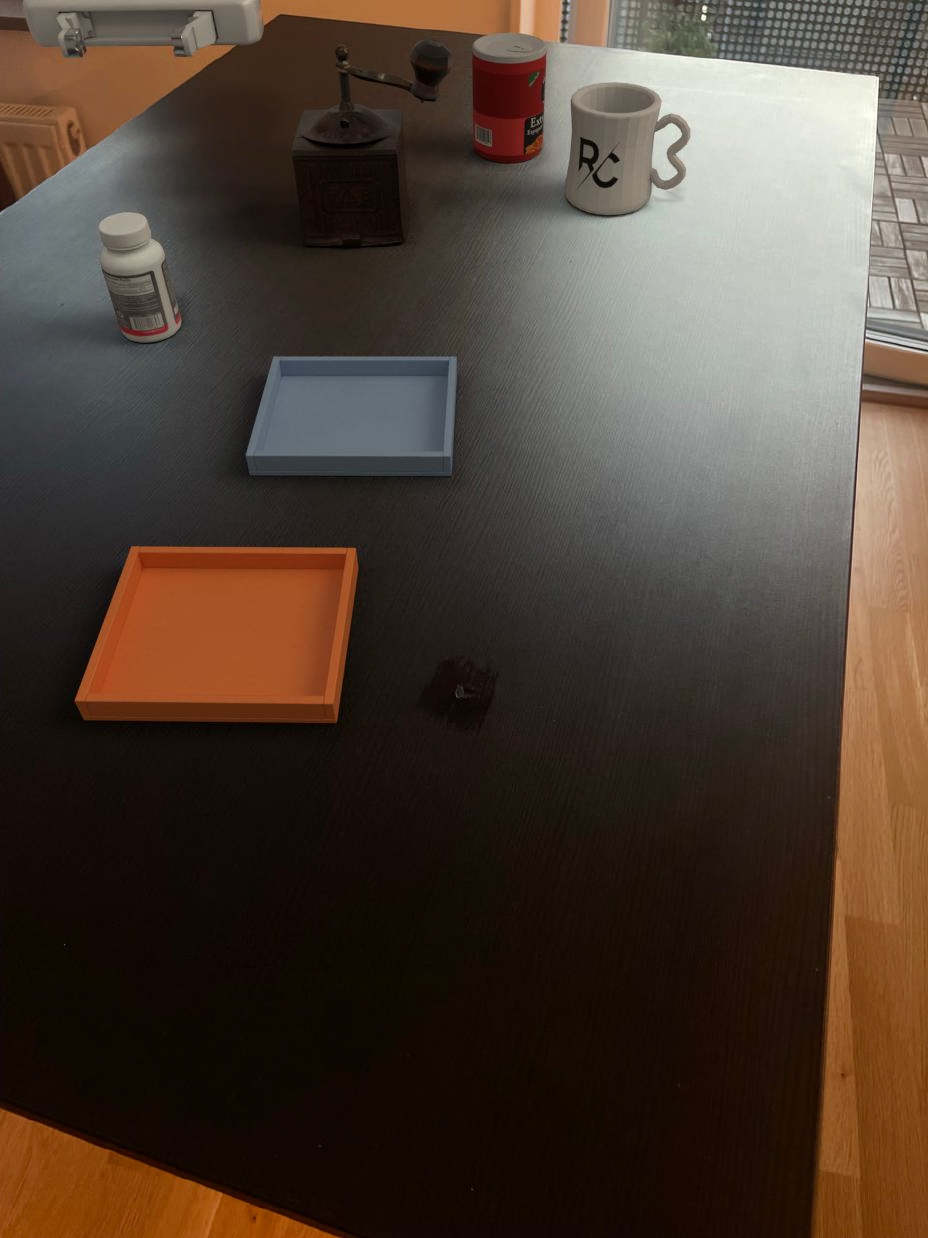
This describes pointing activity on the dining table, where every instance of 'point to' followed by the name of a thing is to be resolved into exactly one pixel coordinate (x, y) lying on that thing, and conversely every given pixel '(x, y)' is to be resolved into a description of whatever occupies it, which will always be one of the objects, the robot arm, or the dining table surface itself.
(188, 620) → the orange tray
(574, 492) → the dining table surface
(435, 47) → the manual coffee grinder
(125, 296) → the pill bottle
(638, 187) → the mug
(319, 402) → the blue tray
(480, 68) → the canned food
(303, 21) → the dining table surface
